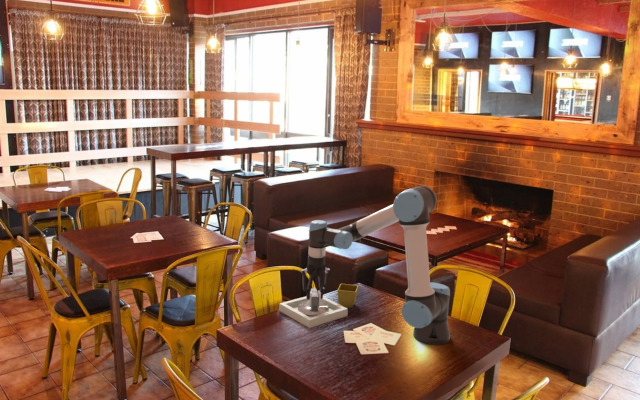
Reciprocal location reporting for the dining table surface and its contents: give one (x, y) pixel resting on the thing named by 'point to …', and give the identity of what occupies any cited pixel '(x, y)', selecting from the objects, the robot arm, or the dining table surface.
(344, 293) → the flower pot
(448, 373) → the dining table surface
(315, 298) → the dial
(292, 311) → the white shallow square tray
